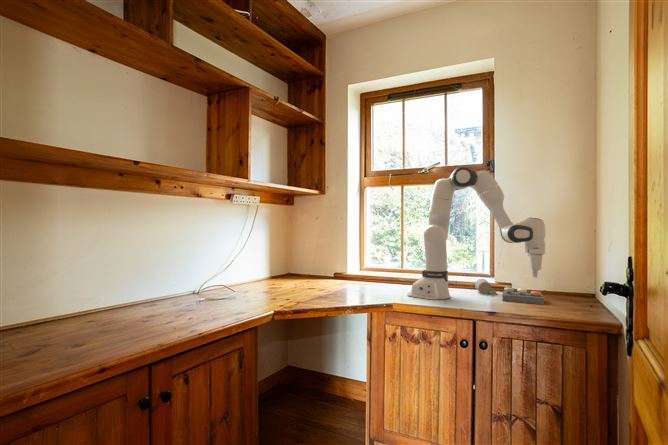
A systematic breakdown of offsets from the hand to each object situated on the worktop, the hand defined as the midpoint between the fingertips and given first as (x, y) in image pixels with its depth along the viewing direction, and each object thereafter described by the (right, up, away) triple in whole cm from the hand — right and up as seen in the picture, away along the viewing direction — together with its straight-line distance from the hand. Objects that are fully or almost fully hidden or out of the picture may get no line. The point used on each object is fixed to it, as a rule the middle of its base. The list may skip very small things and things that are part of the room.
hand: (535, 277), depth 172 cm
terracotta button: (0, -12, 0) cm, 12 cm away
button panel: (-5, -12, +2) cm, 14 cm away
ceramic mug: (-15, -13, +22) cm, 29 cm away
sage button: (-10, -11, +5) cm, 16 cm away
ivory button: (-5, -11, +2) cm, 12 cm away
